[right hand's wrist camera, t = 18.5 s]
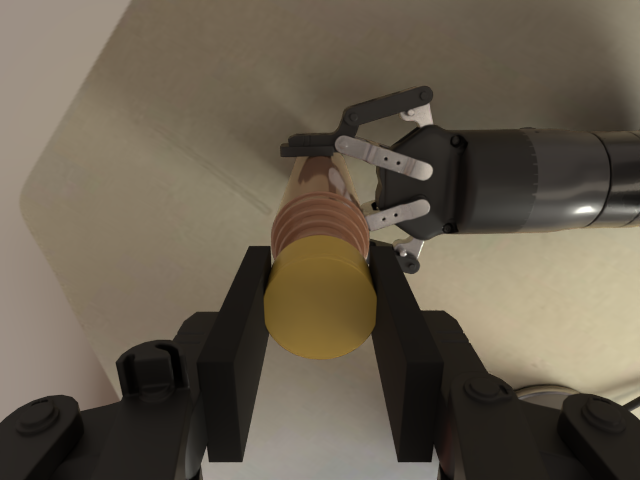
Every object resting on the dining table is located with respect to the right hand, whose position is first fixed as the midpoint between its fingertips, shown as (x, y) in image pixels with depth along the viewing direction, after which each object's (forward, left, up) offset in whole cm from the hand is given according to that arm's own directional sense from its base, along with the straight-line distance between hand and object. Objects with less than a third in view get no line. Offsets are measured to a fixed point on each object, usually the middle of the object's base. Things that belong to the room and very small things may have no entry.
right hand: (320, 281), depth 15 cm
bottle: (0, 0, -22) cm, 22 cm away
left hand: (+2, -1, -16) cm, 16 cm away
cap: (0, 0, +2) cm, 2 cm away
